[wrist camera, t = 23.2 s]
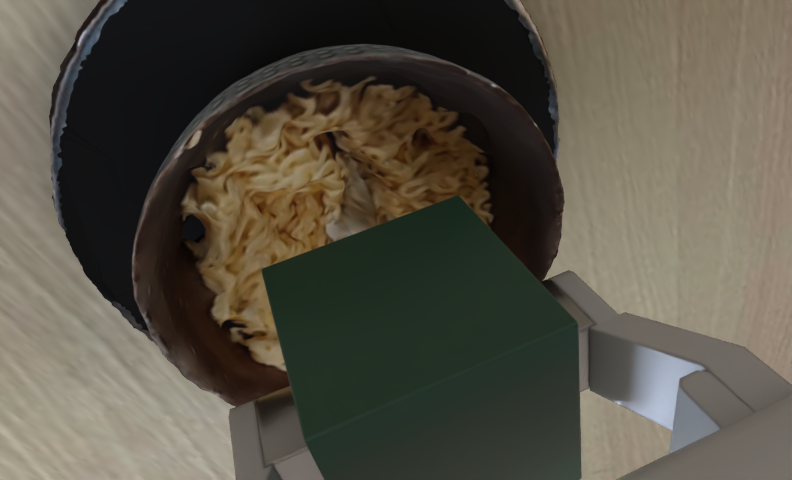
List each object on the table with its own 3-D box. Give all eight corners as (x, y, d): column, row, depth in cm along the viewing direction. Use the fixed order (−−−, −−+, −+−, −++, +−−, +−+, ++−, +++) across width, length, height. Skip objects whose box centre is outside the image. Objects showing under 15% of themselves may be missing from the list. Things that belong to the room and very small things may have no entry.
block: (458, 193, 12) (580, 322, 9) (481, 335, 15) (582, 479, 11) (260, 268, 12) (303, 441, 8) (321, 403, 14) (374, 579, 11)
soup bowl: (585, -57, 17) (811, -24, 11) (477, 350, 25) (575, 496, 19) (-3, -149, 12) (-170, -179, 6) (97, 404, 20) (68, 629, 14)
